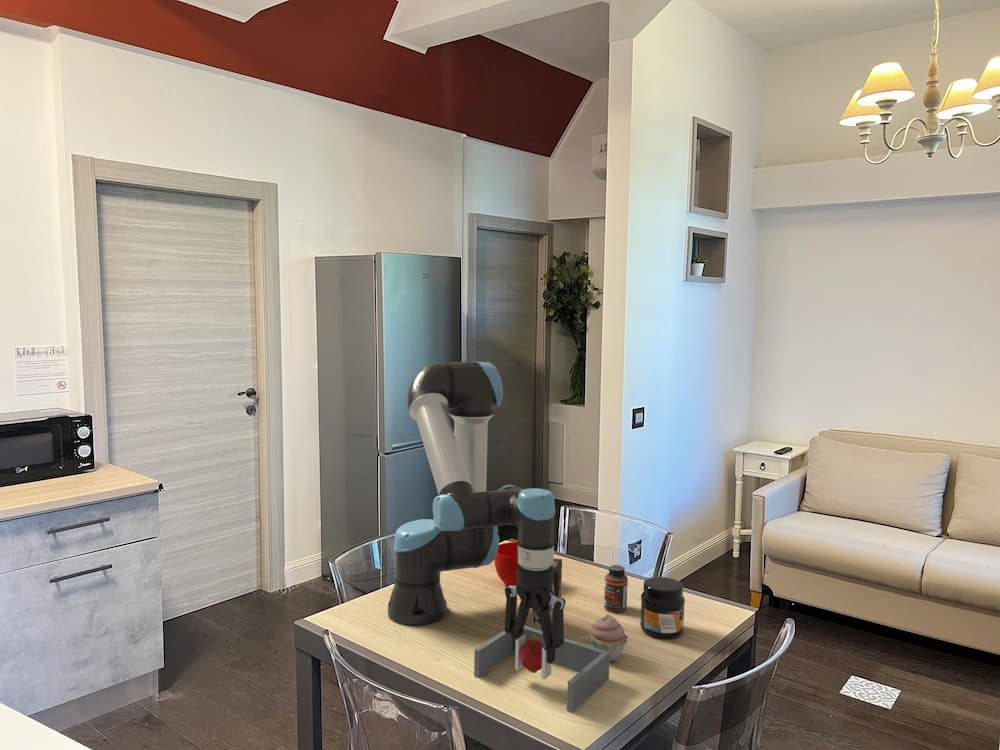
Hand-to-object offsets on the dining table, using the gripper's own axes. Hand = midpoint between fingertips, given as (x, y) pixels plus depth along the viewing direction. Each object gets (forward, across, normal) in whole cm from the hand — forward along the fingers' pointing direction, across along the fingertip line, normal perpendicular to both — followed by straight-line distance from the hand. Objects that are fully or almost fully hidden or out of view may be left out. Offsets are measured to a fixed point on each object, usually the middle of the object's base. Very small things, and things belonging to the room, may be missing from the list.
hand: (533, 671), depth 154 cm
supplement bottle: (+3, -3, +46) cm, 46 cm away
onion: (0, 0, 0) cm, 0 cm away
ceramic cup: (+3, -32, +46) cm, 56 cm away
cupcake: (+3, +7, +20) cm, 22 cm away
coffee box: (+3, -12, +26) cm, 28 cm away
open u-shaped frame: (+3, 0, +4) cm, 5 cm away
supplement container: (+3, +12, +40) cm, 42 cm away
